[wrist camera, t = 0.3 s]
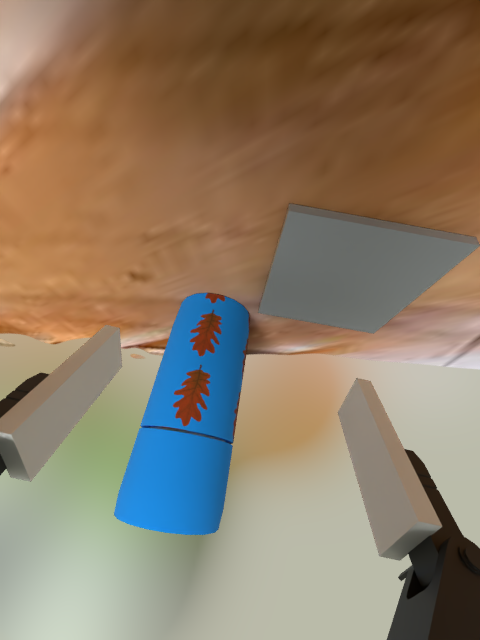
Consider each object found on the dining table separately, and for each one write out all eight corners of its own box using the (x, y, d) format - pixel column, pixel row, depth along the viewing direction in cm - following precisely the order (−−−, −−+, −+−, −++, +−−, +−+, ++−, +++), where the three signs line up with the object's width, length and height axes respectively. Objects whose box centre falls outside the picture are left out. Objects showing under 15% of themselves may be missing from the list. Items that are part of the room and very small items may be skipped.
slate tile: (289, 203, 21) (288, 210, 21) (476, 237, 21) (480, 245, 21) (258, 306, 35) (258, 312, 35) (372, 327, 35) (373, 333, 35)
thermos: (255, 299, 34) (219, 543, 21) (248, 335, 43) (220, 520, 30) (174, 286, 34) (92, 519, 21) (184, 325, 43) (131, 504, 31)
